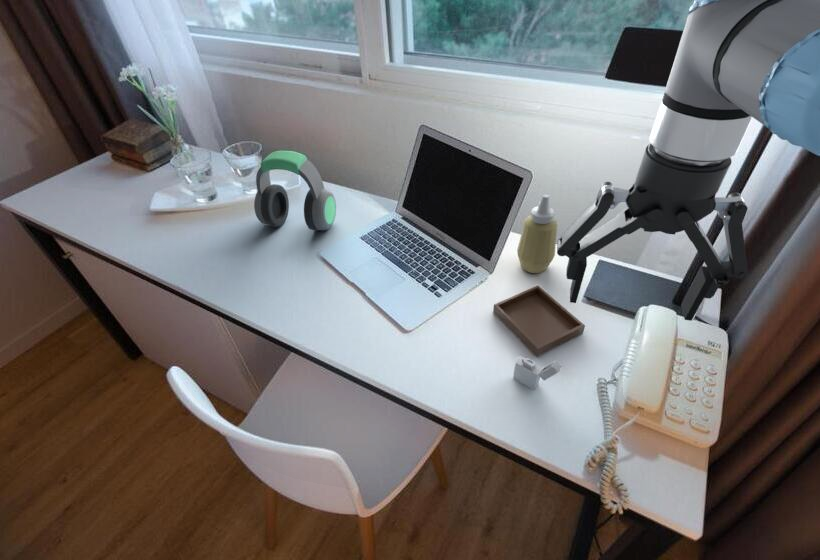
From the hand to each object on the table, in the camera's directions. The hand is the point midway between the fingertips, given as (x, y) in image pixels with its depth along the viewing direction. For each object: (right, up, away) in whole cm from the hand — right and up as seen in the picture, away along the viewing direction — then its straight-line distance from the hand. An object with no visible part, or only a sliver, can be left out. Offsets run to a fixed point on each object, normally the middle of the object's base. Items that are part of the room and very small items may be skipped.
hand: (627, 304), depth 56 cm
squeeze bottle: (0, +6, +42) cm, 42 cm away
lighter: (-7, -15, +18) cm, 25 cm away
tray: (-4, -5, +29) cm, 29 cm away
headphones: (-58, +18, +59) cm, 84 cm away
